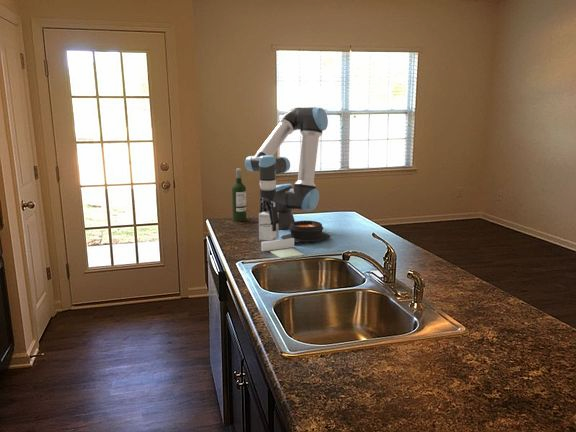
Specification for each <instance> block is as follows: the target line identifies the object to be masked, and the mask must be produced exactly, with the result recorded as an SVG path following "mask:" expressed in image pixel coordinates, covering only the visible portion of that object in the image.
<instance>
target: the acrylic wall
mask: <svg viewBox="0 0 576 432" xmlns="http://www.w3.org/2000/svg"><path fill="white" fill-rule="evenodd" d="M260 245H261V251H262V252H267V251H268V252H270V251H276V250H283V249H290V248H295V242H294V238H290V239H282V238H281V239H275V240H273V241H271V240H265V241H261V243H260Z"/></svg>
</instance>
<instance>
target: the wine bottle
mask: <svg viewBox="0 0 576 432" xmlns="http://www.w3.org/2000/svg"><path fill="white" fill-rule="evenodd" d="M235 171H236V178H235V183H234V184H233V186H232V188H231V193H232V196H231V197H232V198H231V199H232V204H231V205H232V221H233V222H245V221H246V220H247V187H246V185H244V183H243V182H242V168H238V167H237V168H236V169H235Z"/></svg>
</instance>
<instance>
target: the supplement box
mask: <svg viewBox="0 0 576 432" xmlns="http://www.w3.org/2000/svg"><path fill="white" fill-rule="evenodd" d="M277 213H278V212H277ZM270 223H271V220H270V215H269V212H268V211H264V212H262V213H260V214H259V213H258V239H259V241H260V240H261V241H262V240H265V241H274V240H277V239H278V238H279V229H278V224H276V233H277V237H275V238H271V230H270Z"/></svg>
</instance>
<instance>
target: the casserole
mask: <svg viewBox="0 0 576 432" xmlns="http://www.w3.org/2000/svg"><path fill="white" fill-rule="evenodd" d="M324 229H325V228H324V226H323V225H322V223H321V222H319V221H315V220H297V221H296V220H295V222H292V223H291V225H290V227H289V230H290V233H289V234H288V233H287V234H284V235H282V236H280V238H281V240H282V239H290V238H294V243H301V244H311V243H317V242H319V241H322V240H325V239H330V238H331V237H332V235H331V234H330V233H327V232H325V231H323V230H324Z"/></svg>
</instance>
